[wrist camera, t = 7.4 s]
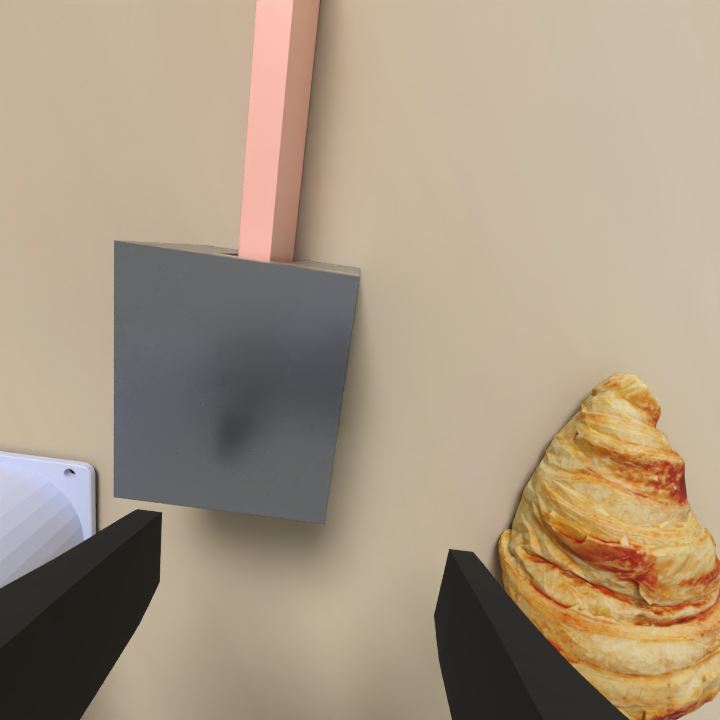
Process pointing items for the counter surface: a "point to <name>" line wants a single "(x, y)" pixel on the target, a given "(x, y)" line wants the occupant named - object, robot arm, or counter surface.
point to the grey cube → (228, 378)
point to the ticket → (277, 127)
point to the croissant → (619, 558)
